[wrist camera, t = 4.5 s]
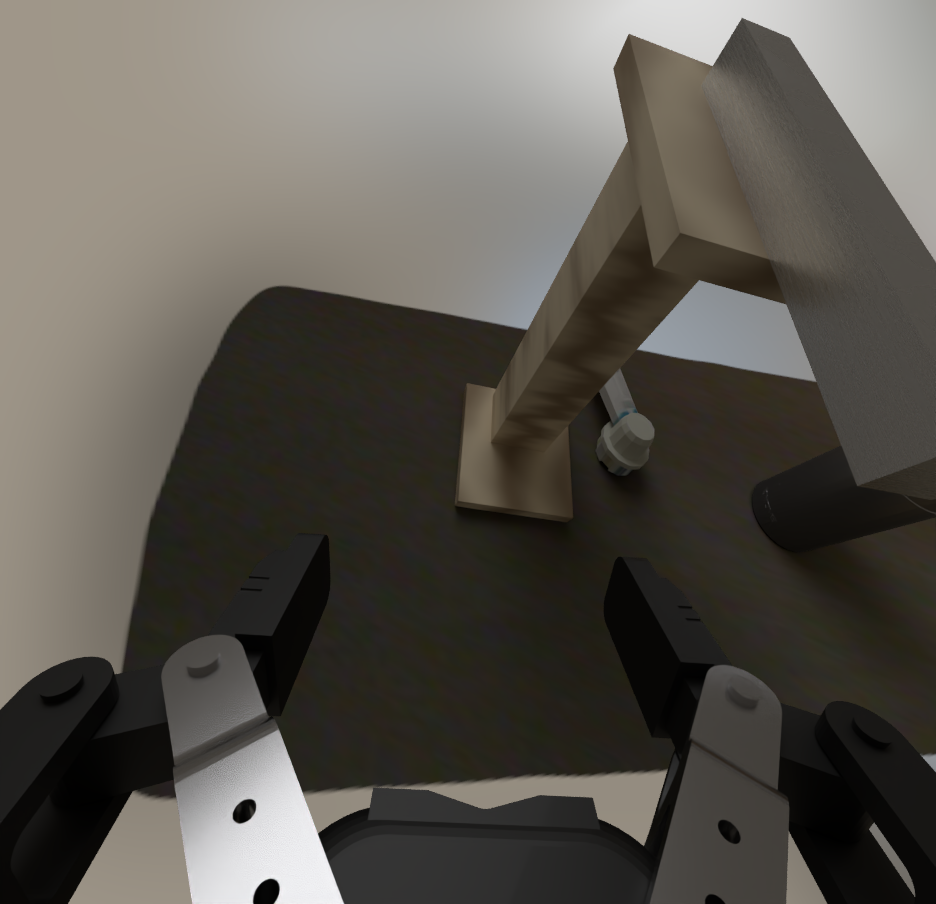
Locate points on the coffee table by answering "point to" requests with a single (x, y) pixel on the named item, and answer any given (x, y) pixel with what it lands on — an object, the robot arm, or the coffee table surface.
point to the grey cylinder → (623, 430)
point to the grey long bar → (835, 257)
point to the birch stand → (614, 285)
